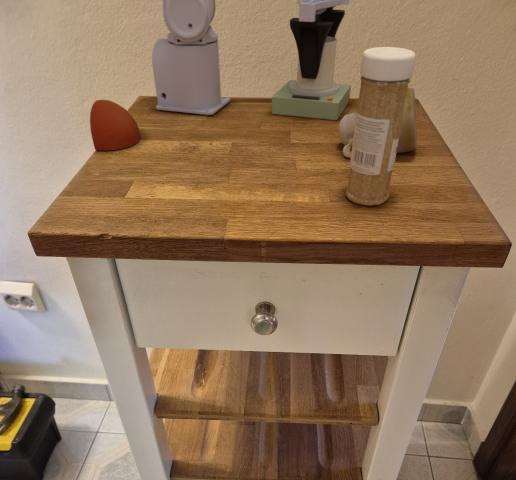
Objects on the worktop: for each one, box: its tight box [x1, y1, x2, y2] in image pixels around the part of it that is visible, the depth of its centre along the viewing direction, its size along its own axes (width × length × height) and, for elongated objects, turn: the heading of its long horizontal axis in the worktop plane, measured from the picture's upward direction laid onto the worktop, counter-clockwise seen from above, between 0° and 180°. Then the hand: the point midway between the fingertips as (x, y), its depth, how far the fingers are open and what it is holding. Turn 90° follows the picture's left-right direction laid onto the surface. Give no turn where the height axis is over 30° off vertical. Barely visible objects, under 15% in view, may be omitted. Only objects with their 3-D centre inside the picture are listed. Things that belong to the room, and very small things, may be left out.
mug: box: [338, 87, 418, 159], centre depth 58 cm, size 8×10×10 cm
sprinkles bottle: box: [345, 46, 416, 207], centre depth 45 cm, size 5×5×13 cm
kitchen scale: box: [271, 79, 352, 121], centre depth 72 cm, size 10×10×3 cm
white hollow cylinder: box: [296, 36, 338, 90], centre depth 69 cm, size 5×5×6 cm
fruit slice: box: [89, 99, 141, 152], centre depth 62 cm, size 8×7×5 cm
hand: (314, 72), depth 70 cm, fingers open, 6 cm apart
